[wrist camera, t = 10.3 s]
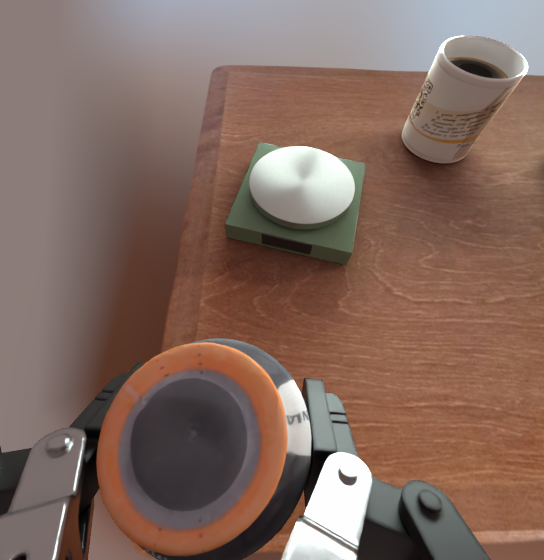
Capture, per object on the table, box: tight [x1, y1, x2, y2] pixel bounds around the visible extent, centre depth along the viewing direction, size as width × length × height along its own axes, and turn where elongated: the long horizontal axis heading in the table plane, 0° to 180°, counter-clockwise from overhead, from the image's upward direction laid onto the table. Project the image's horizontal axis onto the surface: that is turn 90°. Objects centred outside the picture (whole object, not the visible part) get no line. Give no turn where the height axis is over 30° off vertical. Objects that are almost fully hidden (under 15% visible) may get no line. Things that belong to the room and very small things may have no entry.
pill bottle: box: [96, 338, 312, 560], centre depth 11 cm, size 6×6×11 cm
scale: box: [225, 142, 366, 265], centre depth 35 cm, size 14×14×4 cm
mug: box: [402, 36, 528, 163], centre depth 39 cm, size 10×12×11 cm
